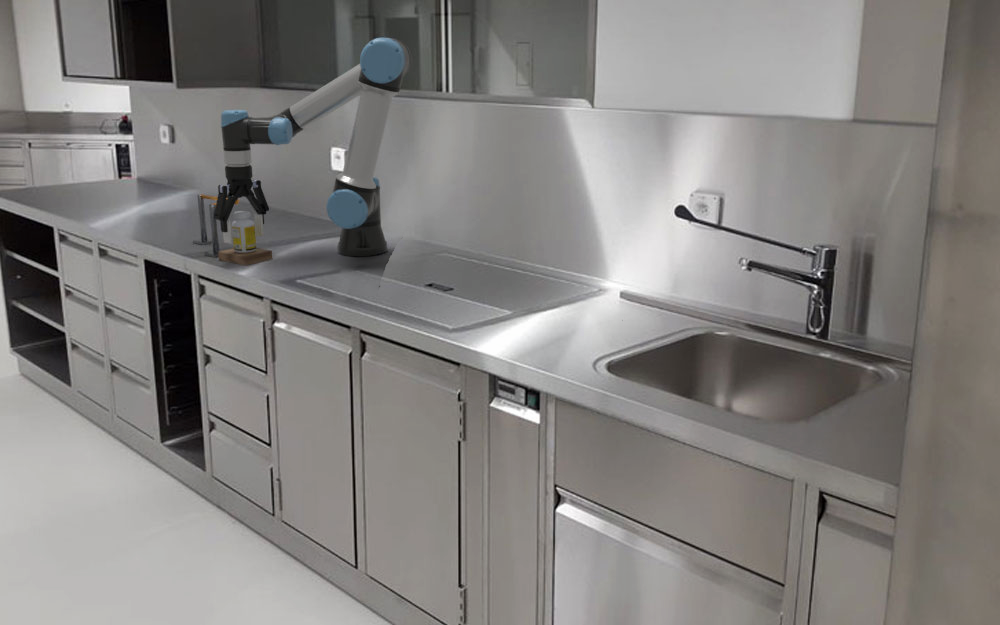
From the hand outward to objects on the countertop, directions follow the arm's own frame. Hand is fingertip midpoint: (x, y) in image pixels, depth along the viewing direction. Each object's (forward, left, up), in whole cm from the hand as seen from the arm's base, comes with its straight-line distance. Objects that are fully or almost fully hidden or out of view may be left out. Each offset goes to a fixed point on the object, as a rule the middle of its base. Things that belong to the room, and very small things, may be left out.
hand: (244, 239), depth 273 cm
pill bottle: (0, 0, -4) cm, 4 cm away
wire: (+20, -4, -6) cm, 22 cm away
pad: (0, 0, -6) cm, 6 cm away
